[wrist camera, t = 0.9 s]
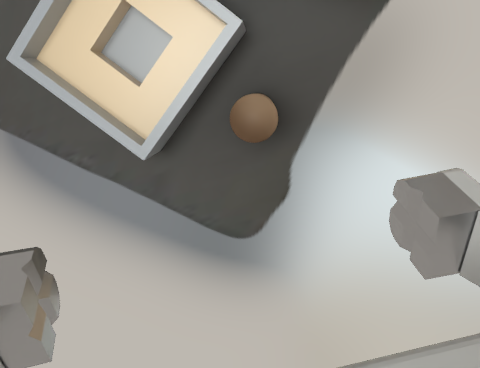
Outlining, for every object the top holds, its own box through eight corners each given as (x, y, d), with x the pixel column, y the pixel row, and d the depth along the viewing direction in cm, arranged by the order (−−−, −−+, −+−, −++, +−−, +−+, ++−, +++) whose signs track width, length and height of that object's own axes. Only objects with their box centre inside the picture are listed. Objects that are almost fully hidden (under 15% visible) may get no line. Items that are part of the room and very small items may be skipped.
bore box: (122, -67, 46) (96, -94, 39) (246, 31, 47) (242, 21, 40) (42, 63, 49) (5, 58, 42) (160, 151, 50) (143, 160, 43)
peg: (253, 85, 48) (249, 83, 37) (282, 108, 49) (287, 113, 37) (231, 115, 49) (220, 123, 37) (260, 137, 49) (258, 152, 38)
